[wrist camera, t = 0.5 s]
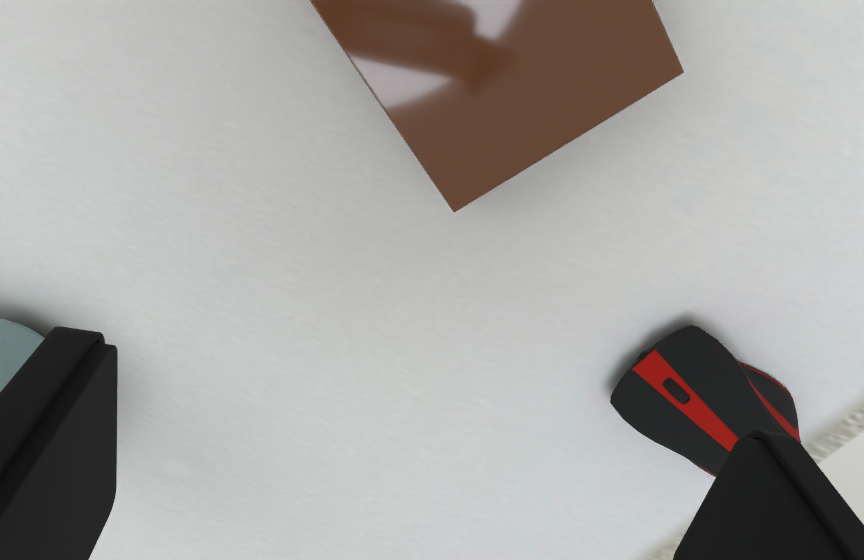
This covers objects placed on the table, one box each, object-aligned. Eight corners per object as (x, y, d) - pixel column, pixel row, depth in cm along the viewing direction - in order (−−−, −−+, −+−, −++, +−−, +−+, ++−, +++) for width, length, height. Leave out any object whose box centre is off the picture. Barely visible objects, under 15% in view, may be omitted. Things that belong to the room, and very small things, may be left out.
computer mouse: (683, 300, 33) (718, 346, 29) (813, 411, 36) (859, 464, 33) (588, 384, 35) (610, 437, 31) (720, 481, 38) (754, 538, 35)
